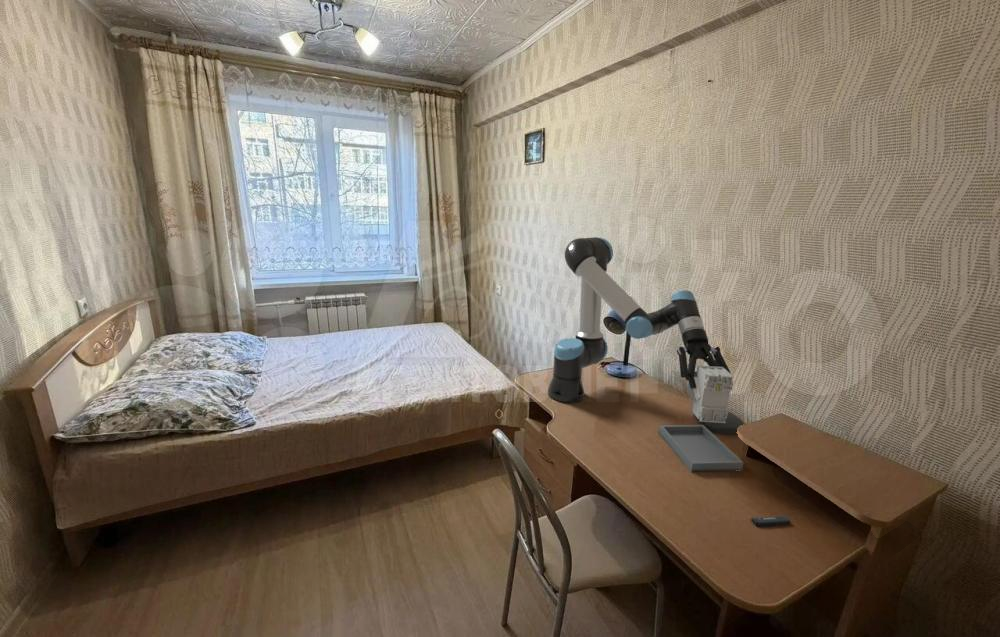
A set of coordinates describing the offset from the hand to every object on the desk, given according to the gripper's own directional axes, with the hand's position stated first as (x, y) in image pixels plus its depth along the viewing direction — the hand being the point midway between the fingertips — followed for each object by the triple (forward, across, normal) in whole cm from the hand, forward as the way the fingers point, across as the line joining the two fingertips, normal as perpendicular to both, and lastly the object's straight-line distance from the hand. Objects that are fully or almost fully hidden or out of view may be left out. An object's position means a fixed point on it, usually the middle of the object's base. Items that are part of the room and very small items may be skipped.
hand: (712, 398), depth 125 cm
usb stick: (+35, +2, -5) cm, 35 cm away
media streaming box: (+1, +18, +29) cm, 34 cm away
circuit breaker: (+2, 0, +7) cm, 7 cm away
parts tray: (+12, 0, +17) cm, 21 cm away
